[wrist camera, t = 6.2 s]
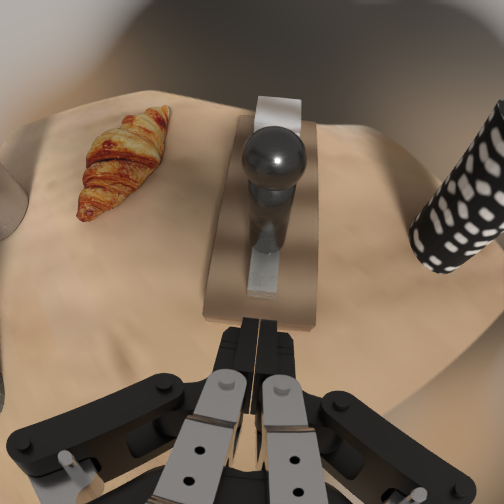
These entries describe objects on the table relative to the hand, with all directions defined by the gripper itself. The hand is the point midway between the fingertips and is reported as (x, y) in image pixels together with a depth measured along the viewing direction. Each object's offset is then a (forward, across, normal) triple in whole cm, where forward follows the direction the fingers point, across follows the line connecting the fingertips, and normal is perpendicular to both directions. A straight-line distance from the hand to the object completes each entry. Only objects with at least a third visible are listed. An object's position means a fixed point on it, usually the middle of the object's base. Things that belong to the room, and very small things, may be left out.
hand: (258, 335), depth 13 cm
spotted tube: (+22, +21, 0) cm, 30 cm away
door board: (+23, 0, +1) cm, 23 cm away
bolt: (+17, 0, -1) cm, 17 cm away
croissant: (+27, -19, +4) cm, 33 cm away
